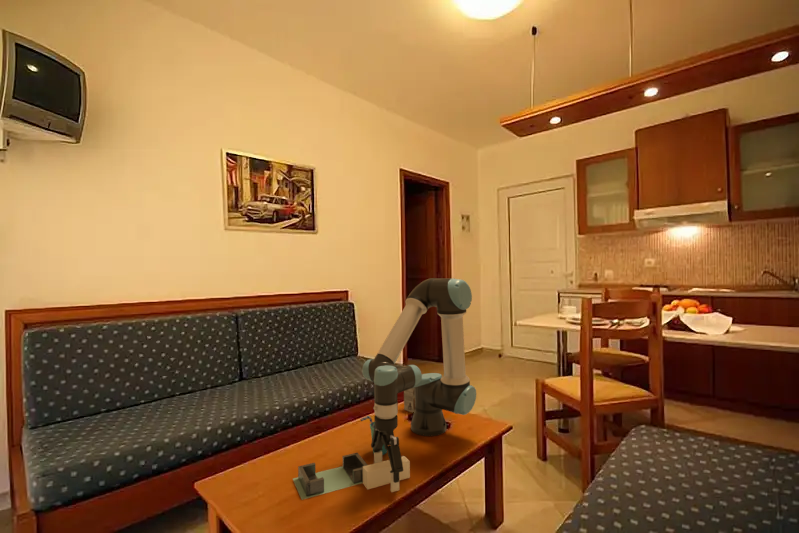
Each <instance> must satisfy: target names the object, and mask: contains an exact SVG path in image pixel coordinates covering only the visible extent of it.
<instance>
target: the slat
mask: <svg viewBox="0 0 799 533" xmlns="http://www.w3.org/2000/svg"><path fill="white" fill-rule="evenodd" d="M401 459H402V465H403V471H402V472H399V482H400V481H403V480H406V479H410V478H411V470H410V469H411V461H410V460H409V459H408V458H407V457H406V456H404V455H401ZM391 470H392V468H391V464H390V460H389V459H387V460H382V462H378V463H374V462H373V463H372V464H367V466H363V483H362V485H363V486H364V487H365V489H366V490H367V491H368V490H370V489H374V488H375V489H376V488H378V487H382V486H385V485H389V484H391V473H390V471H391Z"/></svg>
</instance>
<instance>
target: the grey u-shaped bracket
mask: <svg viewBox="0 0 799 533" xmlns="http://www.w3.org/2000/svg"><path fill="white" fill-rule="evenodd" d="M367 465H368V463H367V462H366V461H365V460H364V459H363V457H362V456H361V455H360V454H359V453H358V452H353V453H349V454H345V455H342V466H343V469H344V470H345V472H346V473H347V474H348V476H349V477H350V479H351V480H352V482H353V483H354V484H355V483H359V482H363V466H367Z"/></svg>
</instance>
